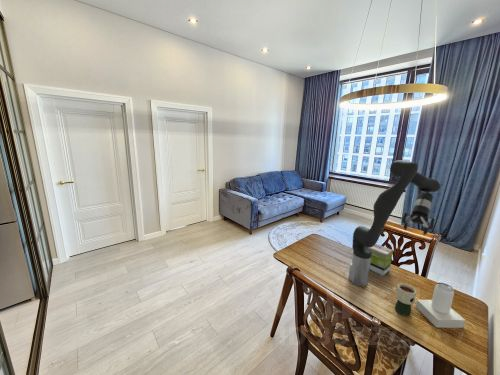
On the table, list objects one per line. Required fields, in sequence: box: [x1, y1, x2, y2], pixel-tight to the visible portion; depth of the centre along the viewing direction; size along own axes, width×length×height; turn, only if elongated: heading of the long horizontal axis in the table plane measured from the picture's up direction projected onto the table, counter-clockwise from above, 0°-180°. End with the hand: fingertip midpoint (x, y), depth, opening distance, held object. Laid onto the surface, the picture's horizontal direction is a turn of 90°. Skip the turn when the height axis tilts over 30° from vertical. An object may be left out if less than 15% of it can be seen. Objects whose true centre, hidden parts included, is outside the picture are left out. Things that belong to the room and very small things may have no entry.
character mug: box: [394, 283, 417, 317], centre depth 101 cm, size 11×7×13 cm, turn 133°
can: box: [431, 282, 455, 314], centre depth 97 cm, size 6×6×12 cm
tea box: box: [368, 243, 394, 277], centre depth 136 cm, size 15×10×15 cm, turn 37°
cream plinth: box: [415, 299, 466, 329], centre depth 99 cm, size 12×12×4 cm
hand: (414, 231), depth 120 cm, fingers open, 8 cm apart
